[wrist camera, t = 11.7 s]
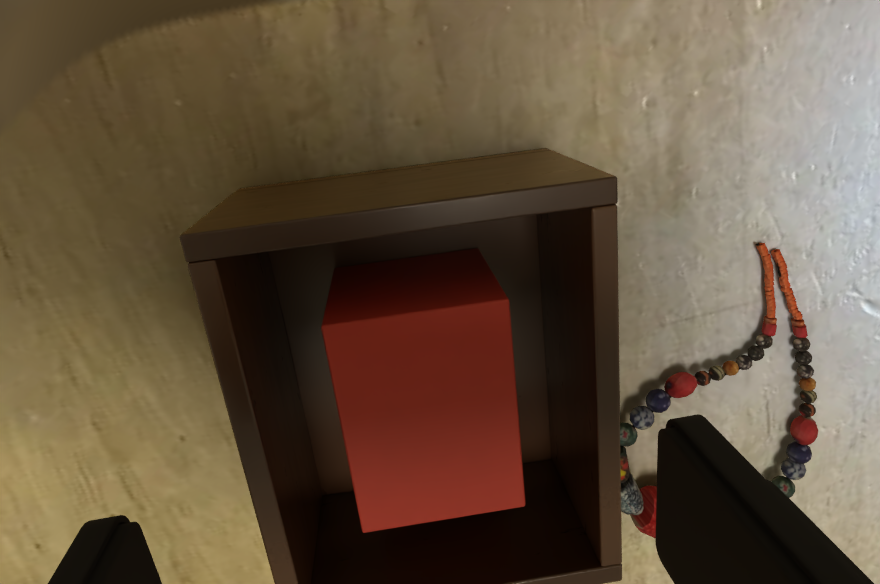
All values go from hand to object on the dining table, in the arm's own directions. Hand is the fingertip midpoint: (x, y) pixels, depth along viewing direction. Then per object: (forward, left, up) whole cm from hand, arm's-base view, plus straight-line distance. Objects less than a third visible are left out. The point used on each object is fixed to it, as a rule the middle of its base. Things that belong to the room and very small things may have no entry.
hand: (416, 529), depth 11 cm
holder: (+1, 0, -9) cm, 9 cm away
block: (+1, 0, -9) cm, 9 cm away
